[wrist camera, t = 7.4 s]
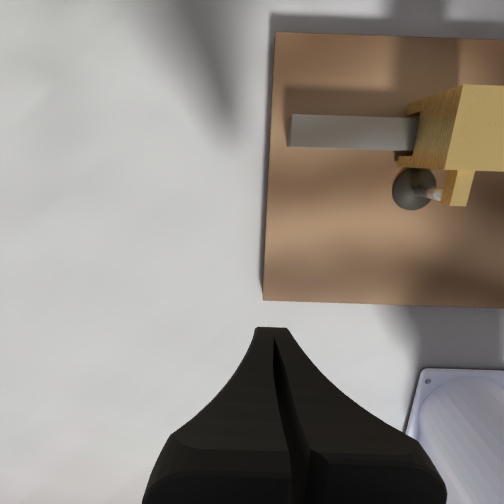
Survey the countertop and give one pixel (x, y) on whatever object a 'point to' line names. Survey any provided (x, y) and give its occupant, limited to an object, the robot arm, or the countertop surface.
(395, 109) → the board
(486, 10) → the countertop surface
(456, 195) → the leg
